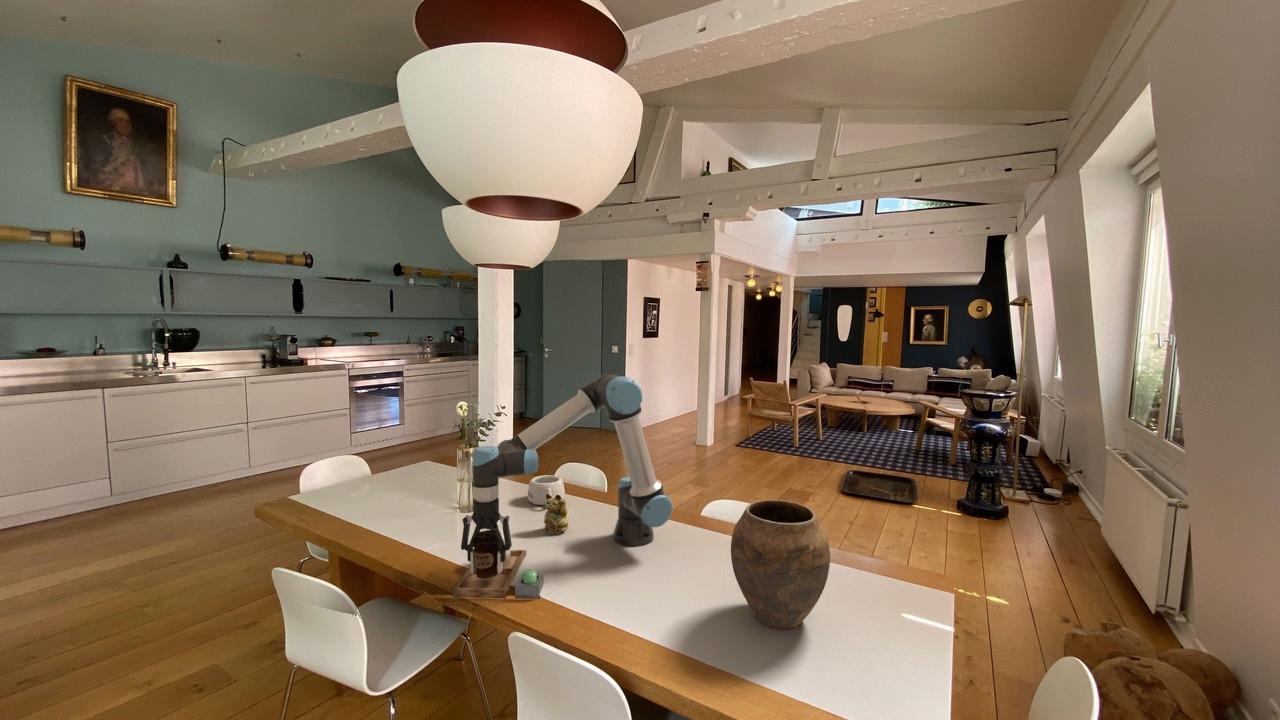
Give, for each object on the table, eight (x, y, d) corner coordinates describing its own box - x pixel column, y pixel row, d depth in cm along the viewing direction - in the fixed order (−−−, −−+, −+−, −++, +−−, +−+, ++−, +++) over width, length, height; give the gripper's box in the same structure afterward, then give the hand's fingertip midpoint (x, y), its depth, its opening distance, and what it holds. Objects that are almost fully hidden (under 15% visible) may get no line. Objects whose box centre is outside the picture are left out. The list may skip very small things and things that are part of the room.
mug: (525, 496, 241) (525, 475, 241) (561, 493, 246) (561, 472, 246) (530, 512, 221) (530, 489, 220) (569, 508, 226) (569, 486, 225)
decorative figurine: (540, 533, 199) (540, 495, 198) (549, 525, 207) (549, 488, 206) (564, 536, 196) (564, 497, 195) (572, 527, 204) (572, 490, 203)
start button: (537, 585, 157) (537, 569, 156) (535, 592, 153) (535, 576, 152) (524, 585, 157) (524, 569, 156) (521, 592, 153) (521, 575, 152)
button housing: (543, 586, 158) (543, 574, 158) (539, 598, 151) (539, 585, 151) (521, 586, 158) (520, 573, 158) (515, 598, 151) (515, 585, 151)
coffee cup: (492, 583, 153) (492, 540, 152) (467, 580, 155) (466, 538, 154) (506, 569, 162) (505, 529, 161) (481, 567, 163) (481, 527, 162)
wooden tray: (526, 557, 178) (526, 550, 178) (505, 598, 151) (504, 590, 151) (482, 556, 178) (482, 549, 178) (453, 597, 151) (453, 589, 151)
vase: (710, 616, 143) (712, 509, 141) (762, 583, 161) (764, 489, 159) (797, 660, 124) (800, 538, 122) (844, 617, 143) (848, 511, 141)
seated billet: (513, 558, 175) (512, 532, 174) (507, 568, 167) (507, 541, 167) (490, 558, 175) (490, 532, 174) (483, 568, 167) (483, 541, 167)
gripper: (522, 494, 160) (523, 566, 162) (456, 493, 160) (458, 565, 162) (516, 502, 153) (517, 577, 154) (447, 501, 153) (449, 577, 154)
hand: (486, 571), depth 158 cm, fingers closed on coffee cup, 7 cm apart
